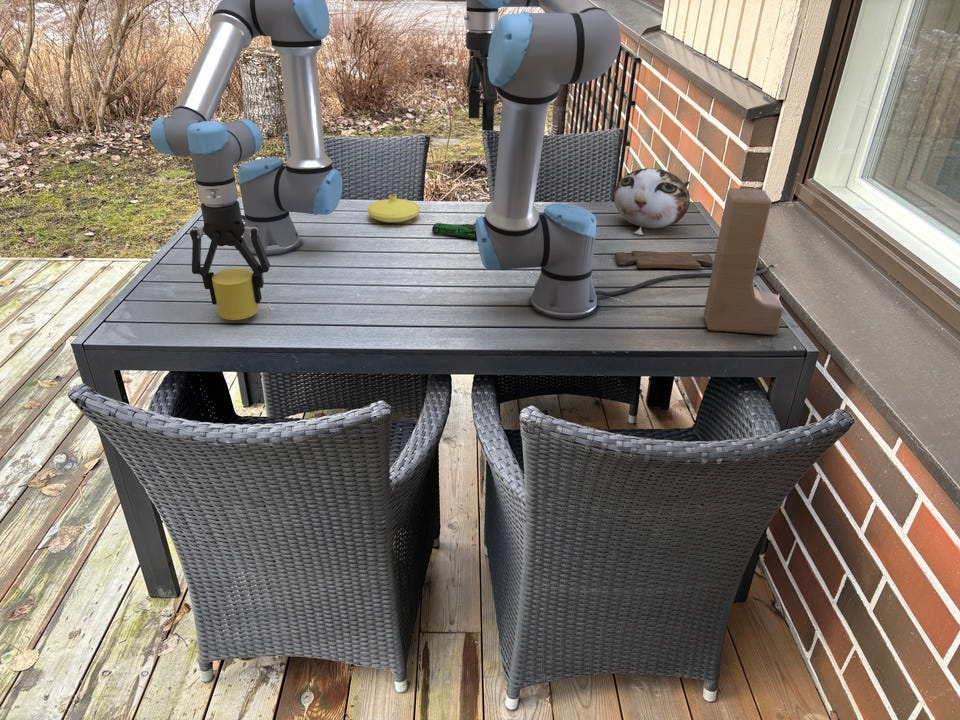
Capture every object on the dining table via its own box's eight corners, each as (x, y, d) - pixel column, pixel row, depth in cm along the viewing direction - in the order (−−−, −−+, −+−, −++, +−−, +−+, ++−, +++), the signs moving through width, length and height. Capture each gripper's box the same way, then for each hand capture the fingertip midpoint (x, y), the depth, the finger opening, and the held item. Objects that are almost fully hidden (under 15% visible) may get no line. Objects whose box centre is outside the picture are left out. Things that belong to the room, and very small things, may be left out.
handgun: (502, 218, 210) (482, 233, 198) (502, 228, 212) (482, 243, 199) (452, 211, 216) (430, 225, 203) (452, 221, 217) (430, 235, 205)
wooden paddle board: (717, 272, 186) (707, 257, 194) (718, 266, 185) (709, 251, 193) (618, 268, 186) (613, 254, 195) (619, 262, 185) (613, 248, 194)
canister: (263, 314, 158) (258, 279, 153) (223, 323, 154) (216, 287, 149) (253, 299, 164) (247, 265, 160) (214, 307, 160) (207, 272, 156)
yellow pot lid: (391, 206, 226) (390, 184, 222) (430, 216, 218) (430, 194, 214) (356, 220, 215) (355, 197, 211) (396, 231, 207) (395, 207, 203)
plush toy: (594, 216, 205) (617, 152, 207) (611, 239, 221) (631, 180, 223) (669, 229, 195) (692, 162, 196) (681, 253, 210) (702, 191, 212)
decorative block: (777, 336, 155) (812, 202, 140) (707, 331, 157) (733, 198, 142) (770, 320, 162) (802, 191, 146) (702, 315, 163) (727, 187, 148)
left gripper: (160, 208, 142) (182, 310, 154) (269, 206, 144) (284, 307, 155) (170, 196, 148) (191, 295, 160) (275, 195, 150) (288, 292, 162)
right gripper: (454, 25, 178) (455, 113, 188) (479, 37, 157) (478, 136, 168) (483, 25, 179) (482, 112, 190) (512, 37, 159) (509, 134, 169)
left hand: (237, 301), depth 158 cm, fingers closed on canister, 9 cm apart
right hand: (480, 124), depth 179 cm, fingers open, 13 cm apart
